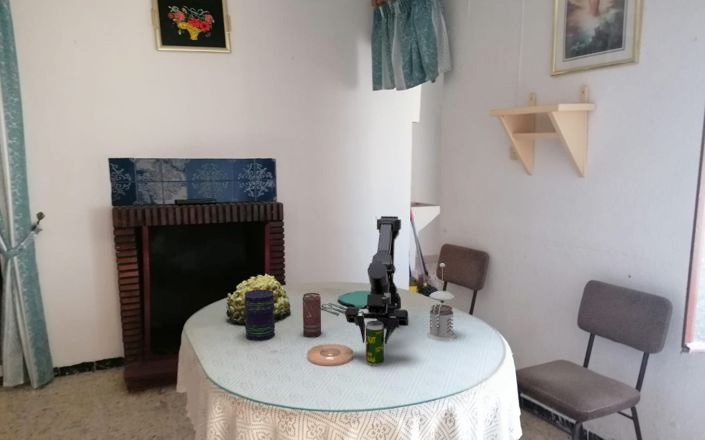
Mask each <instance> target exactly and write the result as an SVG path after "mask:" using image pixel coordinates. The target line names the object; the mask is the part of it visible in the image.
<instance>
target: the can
mask: <svg viewBox="0 0 705 440" xmlns="http://www.w3.org/2000/svg"><path fill="white" fill-rule="evenodd" d="M321 300H322V298H321V295H320V294H319V293H318V292H307V293H304V294H303V296H302V327H303V329H302V330H303V331H302V332H303V336H305V337H307V338H317V337H319V336H320V335H321V334H322V310H321V307H322V301H321Z"/></svg>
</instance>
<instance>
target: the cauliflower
mask: <svg viewBox="0 0 705 440" xmlns="http://www.w3.org/2000/svg"><path fill="white" fill-rule="evenodd" d="M260 289H264V290H271V291H273V292H274V295H273V296H274V309H273V314H274V321H275V323H276V321H277V320H278V321H279V320H281V319H283V318H285V319H286V318H287V317H288V316H290V315H291V311H292V310H291V304H290V300H289V299H290V298H289V296H288V294H287V289H285V288H284V287H283V286H282V284H281V283H280V282H279V281H278V280H277V279H276V278H275V276H274V275H269V274H267V273H265V275H261V274H257V276H250V278H249V279H247V280H243V281H242V282H240V283H239V284H238V285H236V290H235V291H234V292H232V293H233V294H231V293H230V292H228V293H227V297H226V301H227V302H226V306H225V307H226V313H225V314H226V316H227V318H228V317H229V320H230V321H231V323H234V324H245V322H246V311H245V293H246V292H248V291H252V290H260Z"/></svg>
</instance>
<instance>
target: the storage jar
mask: <svg viewBox="0 0 705 440" xmlns="http://www.w3.org/2000/svg"><path fill="white" fill-rule="evenodd" d="M273 295H274V292H273V291H271V290H264V289H260V290H252V291H248V292H246V293H245V311H246V322H244V324H245V334H246V335H245V338H246V340H248V341H251V342H264V341H269V340H271V339H273V338H274V337H275V334H276V333H275V330H276V329H275V328H276V324H275V323H276V322H275V321H274V314H273V309H274V296H273Z"/></svg>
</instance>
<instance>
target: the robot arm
mask: <svg viewBox="0 0 705 440" xmlns="http://www.w3.org/2000/svg"><path fill="white" fill-rule="evenodd" d="M401 229H402V219H400V218H399V216H392V215H391V216H389V215H388V216H387V215H385V216H384V215H382V216H380V218H377V219H376V230H377V231H378V235H379V237H378V242H377V250H376V251H377V252H376V253H375V254H374V255H373V256H372V260H371V263H370V262H369V265H368V268H367V276H368V281H369V284H370V290H369V291H370V294H368V295H367V306H366V310H367V311H362V310H361V309H359V307H356V306H348V307H346V309H345V310H344V311H345V313H344V315H345V319H346V322H347V323H349V324H354V325H355V326H356V327H357V326H358V328H359V330H360V335H361V341H362V343H363V344H365V343H366V322H365V319H368V320H369V319H370V320H376V321H381V322H383V325H384V329H386V331H385V334H384V345H387V343H388V341H389V339H390V337H391V336H392V334H393V333H394V331H395V330H396V329H398V328H400V327H402V326H404V327H407V326H409V322H410V321H409V311H408V310H407V309H402V298H401V296H400V292H398V287H397V285H396V283H395V282H394V275H395V273H396V270H397V268H396V265H395V241H396V240H397V239H398V236H399V234H400V230H401Z"/></svg>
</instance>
